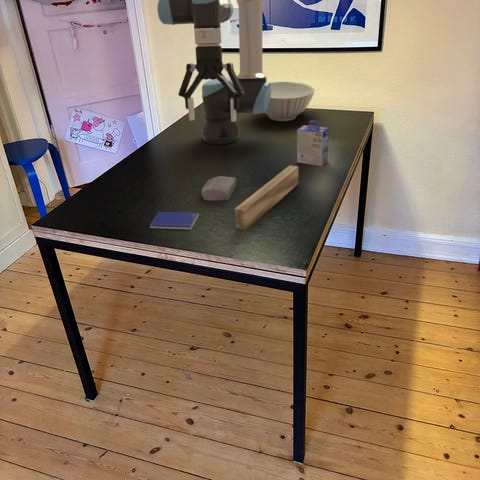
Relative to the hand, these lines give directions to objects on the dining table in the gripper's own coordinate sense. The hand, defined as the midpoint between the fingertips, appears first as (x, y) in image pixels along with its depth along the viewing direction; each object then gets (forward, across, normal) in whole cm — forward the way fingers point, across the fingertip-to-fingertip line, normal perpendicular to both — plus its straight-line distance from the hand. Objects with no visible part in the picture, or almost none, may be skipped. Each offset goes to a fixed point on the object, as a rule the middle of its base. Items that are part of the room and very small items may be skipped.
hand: (212, 120), depth 145 cm
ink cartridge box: (+19, +26, +27) cm, 42 cm away
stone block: (+23, +1, 0) cm, 23 cm away
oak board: (+24, +19, -6) cm, 31 cm away
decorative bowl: (+11, +4, +74) cm, 75 cm away
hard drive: (+26, -6, -20) cm, 34 cm away
